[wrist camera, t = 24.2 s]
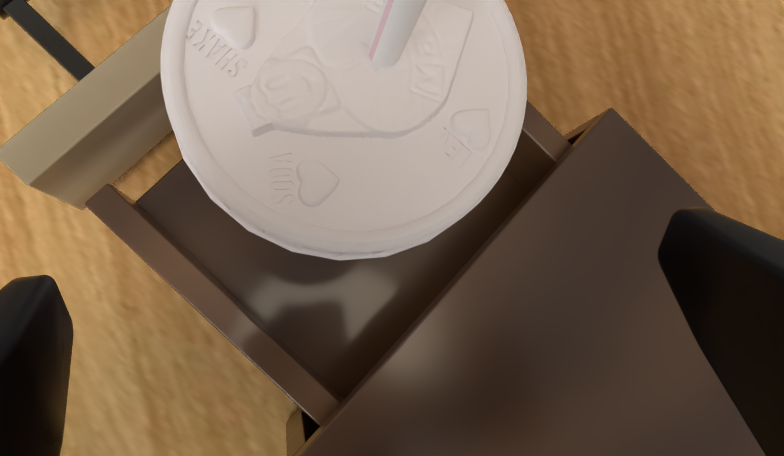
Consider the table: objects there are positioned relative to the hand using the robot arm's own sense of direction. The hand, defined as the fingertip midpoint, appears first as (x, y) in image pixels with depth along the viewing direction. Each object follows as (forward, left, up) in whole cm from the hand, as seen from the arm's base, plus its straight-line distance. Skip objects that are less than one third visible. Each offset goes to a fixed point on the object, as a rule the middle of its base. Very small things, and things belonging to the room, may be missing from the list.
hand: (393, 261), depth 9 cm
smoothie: (+2, +3, -11) cm, 11 cm away
